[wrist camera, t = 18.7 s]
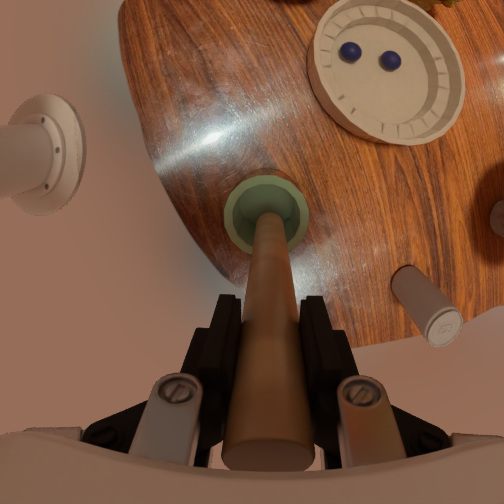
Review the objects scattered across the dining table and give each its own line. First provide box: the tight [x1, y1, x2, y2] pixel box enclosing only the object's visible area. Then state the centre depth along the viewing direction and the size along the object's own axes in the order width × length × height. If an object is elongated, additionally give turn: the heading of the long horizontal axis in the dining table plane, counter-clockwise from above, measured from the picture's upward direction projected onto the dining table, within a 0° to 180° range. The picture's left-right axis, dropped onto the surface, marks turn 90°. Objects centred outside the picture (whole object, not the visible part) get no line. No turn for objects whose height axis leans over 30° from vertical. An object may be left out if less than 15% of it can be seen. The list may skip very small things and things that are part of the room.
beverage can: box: [392, 266, 463, 347], centre depth 31 cm, size 5×5×12 cm
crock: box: [224, 168, 309, 255], centre depth 31 cm, size 8×8×8 cm
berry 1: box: [340, 42, 362, 62], centre depth 26 cm, size 2×2×2 cm
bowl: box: [307, 0, 465, 146], centre depth 25 cm, size 17×17×6 cm
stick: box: [221, 212, 315, 472], centre depth 15 cm, size 2×2×20 cm
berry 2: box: [381, 50, 401, 70], centre depth 26 cm, size 2×2×2 cm
